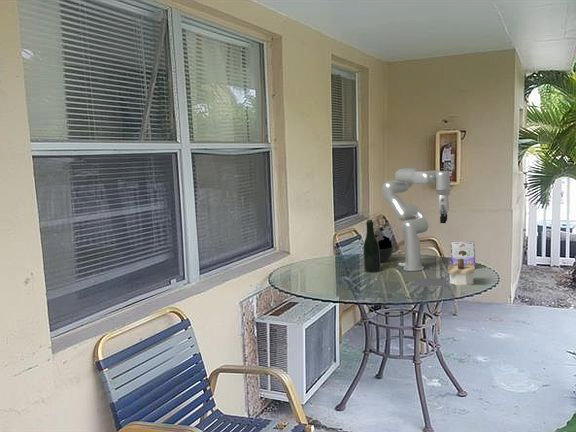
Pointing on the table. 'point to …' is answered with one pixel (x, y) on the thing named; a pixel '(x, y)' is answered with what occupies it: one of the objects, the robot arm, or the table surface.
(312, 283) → the table surface
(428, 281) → the mat
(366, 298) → the table surface
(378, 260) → the beer bottle
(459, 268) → the lid
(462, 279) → the bowl
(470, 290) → the table surface
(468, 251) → the candy box
